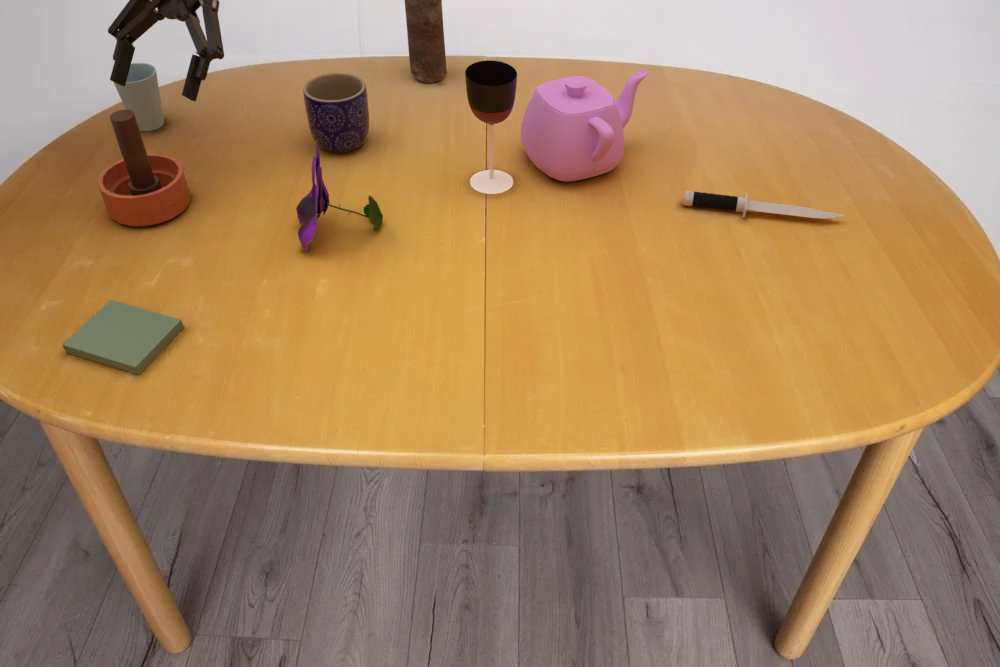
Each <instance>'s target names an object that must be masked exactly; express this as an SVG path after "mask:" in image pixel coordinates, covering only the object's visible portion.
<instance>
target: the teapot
mask: <svg viewBox="0 0 1000 667" xmlns="http://www.w3.org/2000/svg"><path fill="white" fill-rule="evenodd" d="M649 74H650V71H649V70H648V69H647V70H644V69H643V70H640V71H637V72H635V73H634V74H632V75H631V76H630V77H629V78H628V79H627V81H626V83H625V84H624V86H623V87H622V90H621V93H620V94H619V96H618V99H616V101H615V98H614V97H613V96H612V94H611V93H610V92H609V90H608V89H606V87H604V86H603V85H601V84H600V83H599V82H598V81H595V80H593V79H592V78H589V77H587V76H582V75H574V76H569V77H568V76H567V77H561V78H557V79H554V80H549V81H546V82H543V83H540V84H538V85H537V86H536V88H535V89H534V91H533V93H532V95H531V97H530V99H529V101H528V103H527V105H526V108H525V110H524V113H523V117H522V122H521V127H520V140H521V144H522V148H523V149H524V151H525V153H526V155H527V156H528V158H529V160H530V161H531V162H532V163H533V165H534V166H535V167H536V168H537V169H538V170H540V171H541V172H542V173H544V174H545V175H547V176H548V177H550V178H552V179H554V180H557V181H560V182H575V181H580V180H586V179H589V178H593V177H596V176H597V177H598V176H600V175H603V174H606V173H609V172H611V171H613V170H614V169H615V168H616V167H617V166H618V165H619V163H620V162H621V161H622V159H623V157H624V154H625V132H624V128H626V126H627V124H628V123H629V122H630V119H631V118H632V114H633V109H634V102H635V97H636V93H637V90H638V87H639V85H640V84H641V82H642V81H643V80H645V78H646V77H647V76H648V75H649Z"/></svg>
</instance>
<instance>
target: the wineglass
mask: <svg viewBox="0 0 1000 667" xmlns="http://www.w3.org/2000/svg"><path fill="white" fill-rule="evenodd" d="M464 76H465V88H466V96H467V97H466V98H467V102H468V106H469V109H470V110H471V113H472V114H473V116H475V118H476V119H478V120H479V121H481V122H483V123H484V124H488V142H489V143H488V165H489V166H488V168H489V169H485V170H484V169H483V170H480V171H478V172H476V173H474V174H473V175H472V176H471V177H470V179H469V185H470V187H471V188H472V189H473V190H475V191H477V192H478V193H481V194H486V195H497V194H502V193H505V192H507V191H508V190H510V189H511V188H512V187H513V185H514V179H513V176H512V175H510V174H509V173H507V172H505V171H503V170H498V169H495V154H494V153H495V150H494V149H495V139H494V137H495V135H494V132H495V131H494V130H495V128H494V127H495V126H494V125H497V124H500V123H502V122H504V121H505V120H507V119H508V118H509V116H510V115H511V113H512V111H513V108H514V105H515V100H516V95H517V94H516V93H517V83H518V82H517V81H518V72H517V70H516V68H514V67H513V65H510V64H508V63H507V62H504V61H499V60H490V59H489V60H480V61H475V62H473V63H471V64H470V65H468V66H467V67H466V68H465V70H464Z"/></svg>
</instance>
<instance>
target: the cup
mask: <svg viewBox="0 0 1000 667" xmlns="http://www.w3.org/2000/svg"><path fill="white" fill-rule="evenodd" d="M113 84H114V87H115V89H116V91H117V94H118V95H119V98H120V100H121V102H122V105H123V107H124V110H131V111H133V112H134V114H135V117H136V120H137V124H138V127H139V130H140V132H151V131H152V132H153V131H155V130H157V129H160V128H161V127H163V126H164V124H165V118H164V113H163V105H162V100H161V93H160V87H159V80H158V74H157V69H156V67H155V66H154V65H152V64H150V63H145V62H134V63H131V66H130V70H129V73H128V77H127V81H126V85H125V86H121V85H119V84H117V83H115V82H113Z"/></svg>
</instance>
